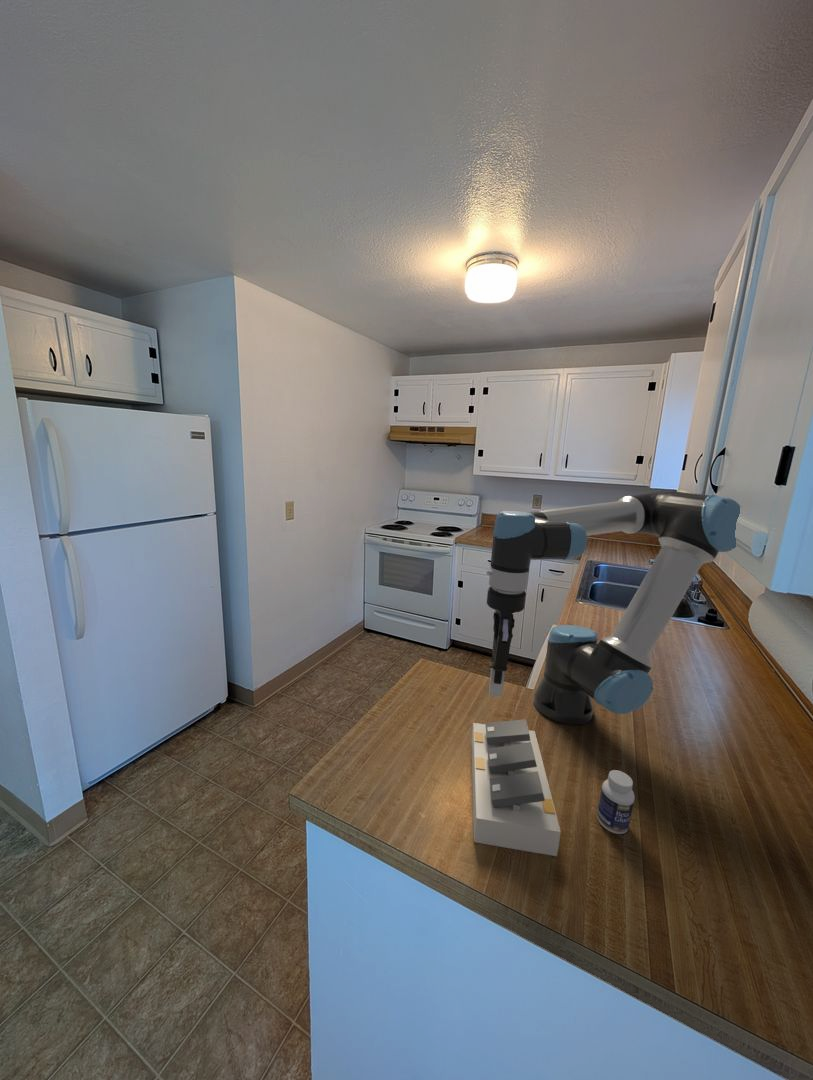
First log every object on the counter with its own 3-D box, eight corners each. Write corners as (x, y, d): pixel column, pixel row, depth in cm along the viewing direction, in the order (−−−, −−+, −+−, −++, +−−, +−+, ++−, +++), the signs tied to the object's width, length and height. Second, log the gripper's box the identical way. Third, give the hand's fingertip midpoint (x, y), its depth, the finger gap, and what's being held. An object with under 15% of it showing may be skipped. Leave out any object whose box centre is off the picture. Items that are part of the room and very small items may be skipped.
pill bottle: (614, 839, 73) (623, 793, 71) (590, 815, 78) (597, 771, 76) (635, 829, 75) (644, 784, 73) (610, 806, 80) (618, 763, 78)
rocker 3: (539, 778, 75) (537, 770, 75) (545, 800, 70) (542, 792, 70) (491, 785, 77) (489, 777, 77) (493, 807, 72) (491, 799, 72)
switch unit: (532, 750, 95) (535, 726, 93) (556, 856, 69) (561, 826, 68) (471, 741, 96) (473, 718, 95) (473, 842, 71) (477, 812, 70)
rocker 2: (532, 748, 83) (530, 741, 83) (536, 766, 78) (534, 758, 78) (489, 755, 85) (487, 748, 84) (490, 773, 80) (488, 766, 80)
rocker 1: (526, 725, 91) (525, 718, 91) (530, 740, 86) (529, 733, 86) (486, 729, 92) (485, 722, 92) (487, 744, 88) (486, 736, 87)
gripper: (487, 577, 89) (477, 675, 94) (489, 597, 76) (477, 709, 81) (522, 580, 88) (510, 680, 93) (530, 601, 75) (516, 715, 80)
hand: (495, 693), depth 87 cm, fingers closed
